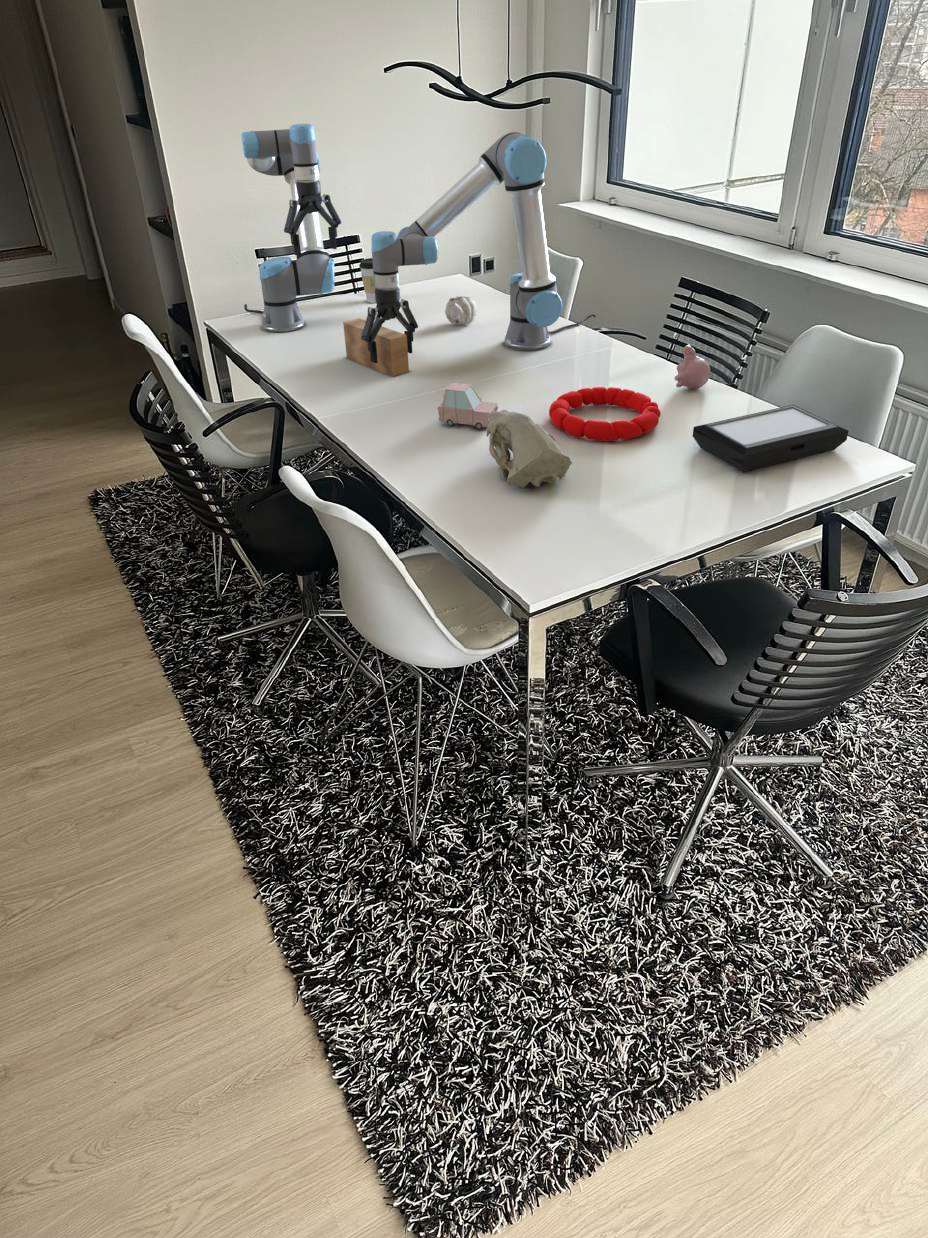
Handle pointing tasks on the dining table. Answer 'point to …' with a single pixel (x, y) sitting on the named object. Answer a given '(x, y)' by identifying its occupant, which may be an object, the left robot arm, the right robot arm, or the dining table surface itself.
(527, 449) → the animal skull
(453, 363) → the dining table surface
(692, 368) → the figurine
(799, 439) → the electronic device
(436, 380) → the dining table surface
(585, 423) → the decorative ring
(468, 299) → the seashell
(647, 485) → the dining table surface
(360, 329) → the box
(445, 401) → the toy car
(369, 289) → the coffee cup
